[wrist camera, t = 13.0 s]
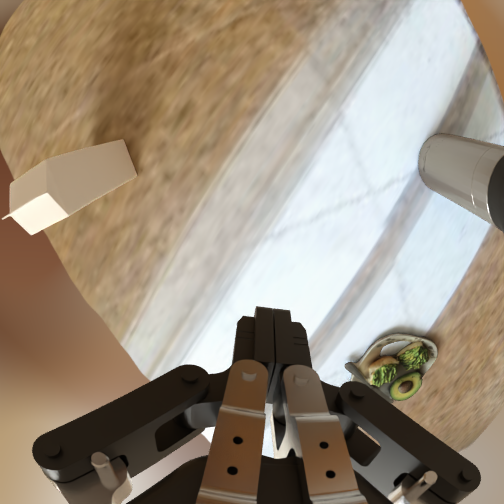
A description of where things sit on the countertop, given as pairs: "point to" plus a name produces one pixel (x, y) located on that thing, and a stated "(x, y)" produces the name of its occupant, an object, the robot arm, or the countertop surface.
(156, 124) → the countertop surface
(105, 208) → the countertop surface
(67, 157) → the milk
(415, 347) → the salad plate
